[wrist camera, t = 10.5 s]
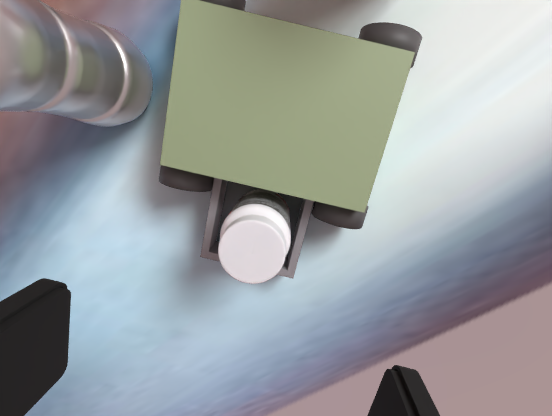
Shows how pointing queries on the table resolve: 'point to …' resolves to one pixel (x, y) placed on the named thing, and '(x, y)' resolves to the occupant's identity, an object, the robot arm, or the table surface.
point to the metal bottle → (69, 66)
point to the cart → (281, 112)
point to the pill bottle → (255, 237)
